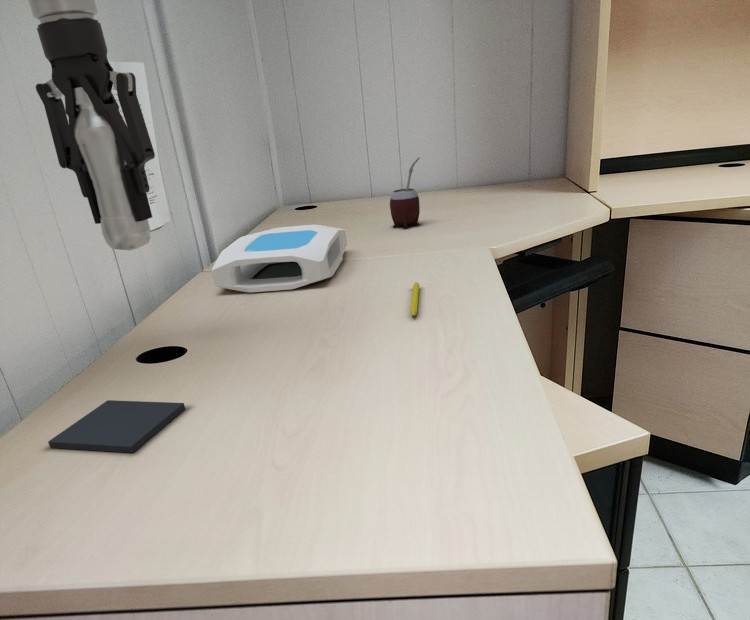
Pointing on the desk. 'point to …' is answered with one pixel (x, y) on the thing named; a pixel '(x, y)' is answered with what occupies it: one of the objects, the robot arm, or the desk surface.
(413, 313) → the pencil
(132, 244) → the plastic bottle
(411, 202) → the mate gourd
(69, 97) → the robot arm
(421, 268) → the desk surface
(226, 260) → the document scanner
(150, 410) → the coaster
